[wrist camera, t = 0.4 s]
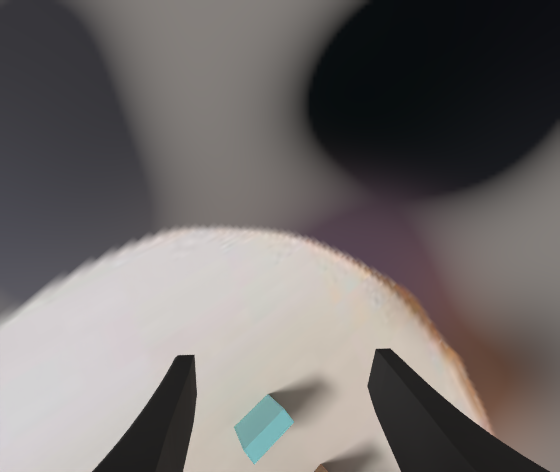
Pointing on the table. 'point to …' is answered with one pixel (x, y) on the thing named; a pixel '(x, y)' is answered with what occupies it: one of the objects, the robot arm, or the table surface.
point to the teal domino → (262, 427)
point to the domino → (320, 469)
